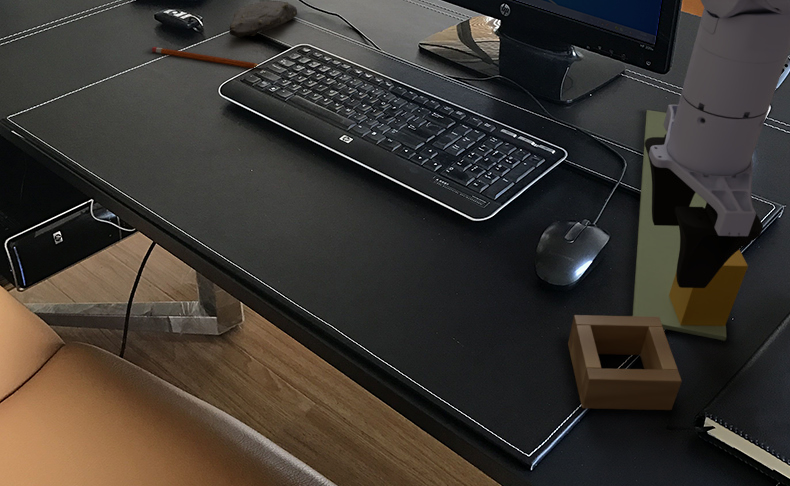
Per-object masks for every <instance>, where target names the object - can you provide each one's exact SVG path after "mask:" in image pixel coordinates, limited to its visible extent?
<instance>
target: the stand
mask: <svg viewBox="0 0 790 486" xmlns="http://www.w3.org/2000/svg"><path fill="white" fill-rule="evenodd" d="M571 323H572V324H571V328H570V332H569V338H568V342H567V346H568V350H569V354H570V359H571V363H572V364H571V365H572V368H573V374H574V376H575V378H574V379H575V384H576V387H577V393H578V396H579V401H580V405H581V409H596V410H597V409H598V410H601V409H602V410H642V411H643V410H646V411H648V410H649V411H672V410H673V407H674V404H675V401H676V399H677V397H678V393H679V391H680V387H681V385H682V382H683V380H682V378H681V375H680V372H679V370H678V366H677V364H676V361H675V358H674V355H673V351H672V349H671V347H670V344H669V341H668V338H667V335H666V333H665V329H663V327H662V324H661V321H660V318H659V317H645V316H633V315H593V314H592V315H590V314H589V315H587V314H573V318H572V322H571ZM599 355H616V356H617V355H620V356H623V355H624V356H639V357H640V360H641V363H642V366H643V369H642V368H602V365H601V360H600V356H599Z"/></svg>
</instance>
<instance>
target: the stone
mask: <svg viewBox="0 0 790 486" xmlns="http://www.w3.org/2000/svg"><path fill="white" fill-rule="evenodd" d="M297 15H298V9H297V7H296V6H294V5H293V4H291V3H289V2H288V1H282V0H264V1H259V2H255V3H253V4H252V3H251V4H249V5H246V6H242V7H240V8H238V10H237V11H236V12H235V13H234V15H233V19H232V22H231V23H230V25H229V31H228V32H229V35H231V36H232V37H236V38H240V37H241V38H242V37H249V36H250V37H255V36H256V35H257V34H258V33H260V32H264V31H268V30H271V29H274V28H276V27H278V26H281V25H284V24H285V23H287V22H289V21H291V20H293V19H295V17H296V16H297Z"/></svg>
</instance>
